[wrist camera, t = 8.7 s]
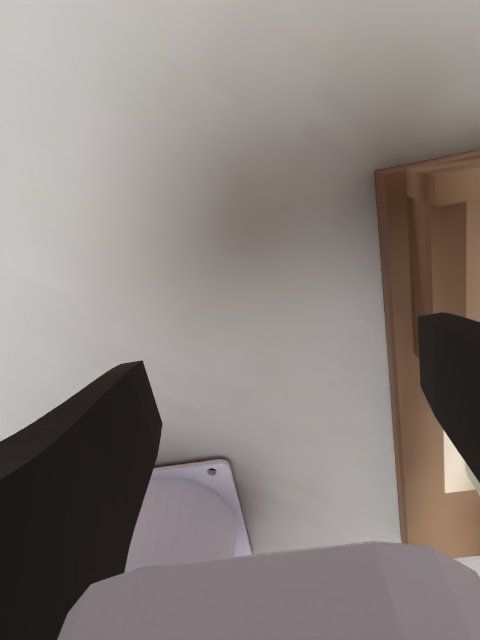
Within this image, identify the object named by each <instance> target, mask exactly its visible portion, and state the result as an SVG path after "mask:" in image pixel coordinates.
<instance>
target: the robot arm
mask: <svg viewBox="0 0 480 640" xmlns="http://www.w3.org/2000/svg"><path fill="white" fill-rule="evenodd" d="M417 317H418V341H419V364H420V386H421V388H422V391H423V393H424V395H425V397H426V399H427V401H428V404H429V406H430V408H431V410H432V412H433V414H434V416H435V418H436V419H437V421H438V422H439V424H440V425H441V427H442V428H443V430H444V431H445V433H446V434H447V436H448V437H449V439H450V440H451V442H452V443H453V445H454V446H455V448H456V449H457V451H458V452H459V454H460V455H461V456H462V458H463V459H464V461H465V462H466V464H467V465H468V467H469V468H470V470H471V471H472V473H473V474H474V476H475V477H476V478H477V480H478V481H479V483H480V322H478V321H474V320H471V319H468V318H465V317H461V316H458V315H454V314H450V313H444V312H441V313H435V314H429V315H422V316H417ZM161 429H162V421H161V418H160V415H159V411H158V408H157V405H156V402H155V399H154V395H153V392H152V389H151V386H150V383H149V379H148V376H147V373H146V370H145V367H144V364H143V361H137V362H130V363H124V364H120V365H118V366H116V367H114V368H112V369H111V370H109V371H108V372H106V373H105V374H103V375H102V376H100V377H99V378H97V379H96V380H95V381H93V382H92V383H90V384H89V385H88V386H86V387H85V388H83V389H82V390H81V391H79V392H78V393H76V394H75V395H74V396H72V397H71V398H69V399H68V400H67V401H65V402H64V403H62V404H61V405H59V406H58V407H56V408H55V409H53V410H52V411H50V412H49V413H47V414H46V415H44V416H43V417H41V418H40V419H38V420H37V421H35V422H33V423H32V424H30V425H29V426H27V427H25V428H24V429H22V430H20V431H19V432H17V433H15V434H13V435H12V436H10V437H8V438H6V439H4V440H3V441H1V442H0V640H480V578H479V576H478V574H477V572H476V571H474V570H472V569H470V568H469V567H467V566H465V565H464V564H462V563H460V562H458V561H457V560H455V559H453V558H451V557H450V556H448V555H446V554H444V553H443V552H441V551H439V550H437V549H436V548H434V547H429V546H425V545H414V544H401V543H388V542H375V541H372V542H363V543H354V544H345V545H336V546H327V547H318V548H309V549H299V550H290V551H281V552H272V553H263V554H254V555H253V554H252V550H251V546H250V542H249V538H248V534H247V530H246V526H245V522H244V518H243V514H242V510H241V506H240V503H239V499H238V495H237V491H236V487H235V483H234V479H233V475H232V471H231V467H230V464H229V462H227V461H226V460H223V459H218V460H210V461H203V462H195V463H188V464H180V465H173V466H165V467H158V468H154V465H155V462H156V459H157V455H158V449H159V443H160V437H161ZM210 468H214V469H215V470H214V471H211V470H209V469H210Z"/></svg>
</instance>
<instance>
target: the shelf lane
mask: <svg viewBox="0 0 480 640" xmlns="http://www.w3.org/2000/svg"><path fill="white" fill-rule="evenodd" d="M374 172H375V185H376V199H377V213H378V227H379V240H380V254H381V268H382V282H383V295H384V309H385V323H386V337H387V350H388V364H389V378H390V392H391V406H392V419H393V433H394V447H395V461H396V474H397V488H398V502H399V516H400V529H401V541H402V544H414V545H425V546H429V547H434V548H436V549H437V550H439V551H441V552H443V553H444V554H446V555H448V556H450V557H451V558H461V557H470V556H480V495H479V494H478V492H477V491H476V489H475V487H474V486H473V484H472V483H471V481H470V480H469V478H468V476H467V464H466V462H465V461H464V459H463V458H462V456H461V455H460V454H459V452H458V451H457V449H456V448H455V446H454V445H453V443H452V442H451V440H450V439H449V437H448V436H447V434H446V433H445V431H444V430H443V428H442V427H441V425H440V424H439V422H438V421H437V419H436V418H435V416H434V414H433V412H432V410H431V408H430V406H429V404H428V401H427V399H426V397H425V395H424V393H423V391H422V388H421V386H420V364H419V341H418V317H417V316H422V315H429V314H435V313H441V312H444V313H450V314H454V315H458V316H461V317H465V318H468V319H471V320H474V321H478V322H480V150H478V151H473V152H468V153H462V154H457V155H452V156H447V157H442V158H437V159H432V160H427V161H422V162H417V163H411V164H406V165H401V166H396V167H391V168H386V169H381V170H376V171H374Z"/></svg>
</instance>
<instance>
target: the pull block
mask: <svg viewBox="0 0 480 640" xmlns="http://www.w3.org/2000/svg"><path fill="white" fill-rule="evenodd" d="M467 476H468V478H469V480H470V481H471V483H472V484H473V486H474V487H475V489H476V491H477V492H478V494H479V495H480V483H479V481H478V480H477V478H476V477H475V476H474V474H473V473H472V471H471V470H470V468H469V467H468V465H467Z"/></svg>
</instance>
